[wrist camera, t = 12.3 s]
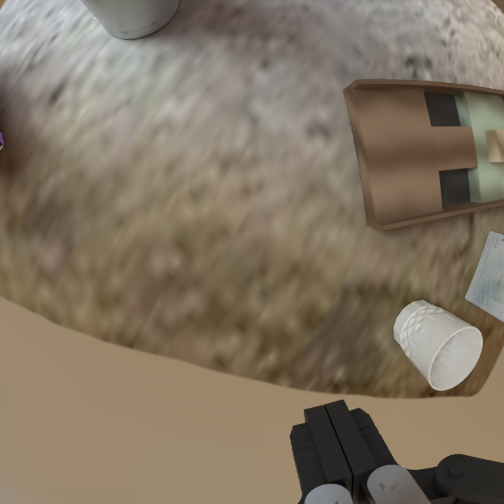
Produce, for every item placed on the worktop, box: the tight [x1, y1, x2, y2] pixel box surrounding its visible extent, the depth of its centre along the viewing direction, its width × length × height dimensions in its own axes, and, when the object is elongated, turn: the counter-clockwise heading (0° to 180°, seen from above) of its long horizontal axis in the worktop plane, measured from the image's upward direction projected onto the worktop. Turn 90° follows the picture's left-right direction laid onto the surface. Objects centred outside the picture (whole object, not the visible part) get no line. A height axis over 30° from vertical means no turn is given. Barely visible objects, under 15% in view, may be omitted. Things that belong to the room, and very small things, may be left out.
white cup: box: [393, 300, 483, 391], centre depth 31 cm, size 8×8×10 cm
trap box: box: [343, 79, 504, 231], centre depth 29 cm, size 15×25×4 cm, turn 101°
